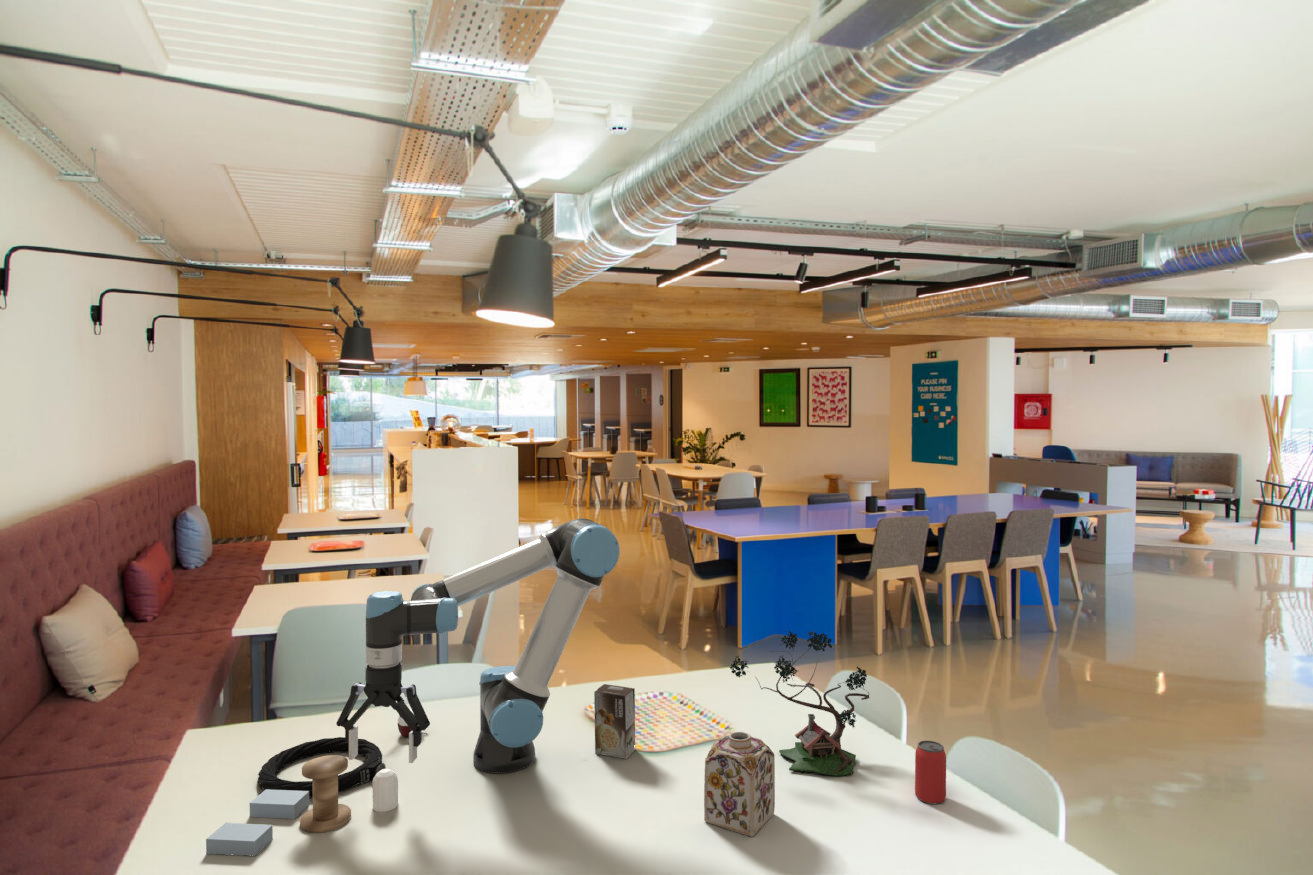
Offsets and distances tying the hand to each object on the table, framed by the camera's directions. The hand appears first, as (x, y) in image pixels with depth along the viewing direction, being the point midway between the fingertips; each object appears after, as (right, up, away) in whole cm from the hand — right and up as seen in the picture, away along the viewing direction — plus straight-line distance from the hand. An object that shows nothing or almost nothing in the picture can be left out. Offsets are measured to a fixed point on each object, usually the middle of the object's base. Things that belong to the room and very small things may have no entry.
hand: (383, 758), depth 169 cm
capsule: (0, -11, 0) cm, 11 cm away
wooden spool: (-10, -11, -6) cm, 16 cm away
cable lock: (-19, -11, +16) cm, 27 cm away
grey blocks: (-22, -11, -9) cm, 26 cm away
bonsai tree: (+97, -10, +25) cm, 100 cm away
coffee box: (+50, -10, +28) cm, 58 cm away
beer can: (+122, -11, +4) cm, 123 cm away
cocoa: (-7, -10, +38) cm, 40 cm away
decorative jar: (+78, -11, -5) cm, 79 cm away
